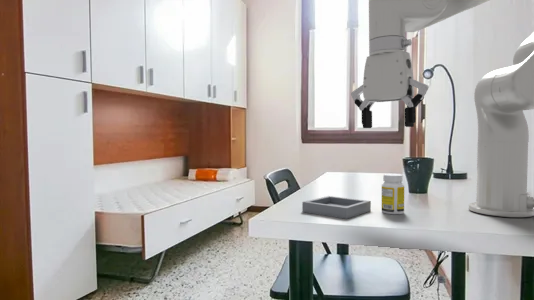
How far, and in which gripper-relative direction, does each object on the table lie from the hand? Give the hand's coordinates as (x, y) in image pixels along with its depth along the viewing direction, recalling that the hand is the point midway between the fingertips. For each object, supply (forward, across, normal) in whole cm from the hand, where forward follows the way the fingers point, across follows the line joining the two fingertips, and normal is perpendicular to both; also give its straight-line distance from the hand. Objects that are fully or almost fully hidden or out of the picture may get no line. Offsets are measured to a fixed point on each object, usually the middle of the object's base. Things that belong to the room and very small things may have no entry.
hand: (387, 127), depth 83 cm
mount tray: (+18, +9, +7) cm, 22 cm away
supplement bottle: (+19, -1, -1) cm, 19 cm away
